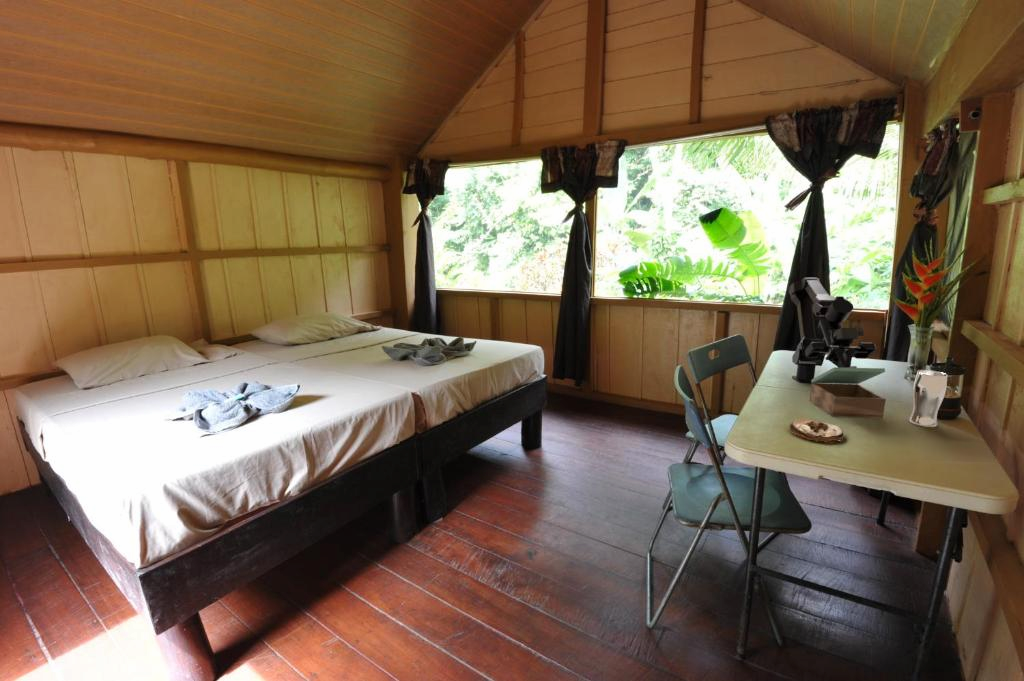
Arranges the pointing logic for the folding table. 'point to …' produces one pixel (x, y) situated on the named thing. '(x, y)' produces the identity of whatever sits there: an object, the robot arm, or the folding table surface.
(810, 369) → the robot arm
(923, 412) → the beer glass
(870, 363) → the folding table surface
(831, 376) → the lid
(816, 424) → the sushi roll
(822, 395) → the walnut box
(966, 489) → the folding table surface
